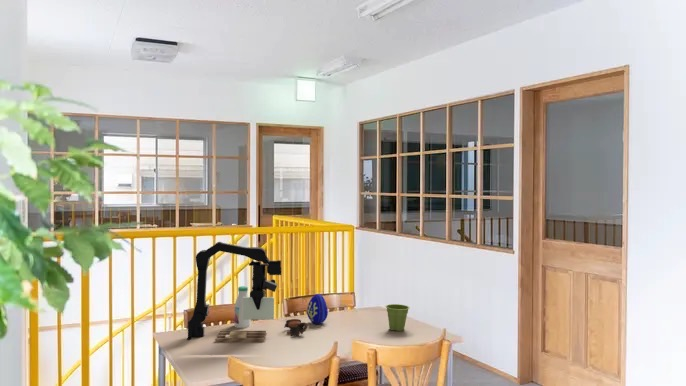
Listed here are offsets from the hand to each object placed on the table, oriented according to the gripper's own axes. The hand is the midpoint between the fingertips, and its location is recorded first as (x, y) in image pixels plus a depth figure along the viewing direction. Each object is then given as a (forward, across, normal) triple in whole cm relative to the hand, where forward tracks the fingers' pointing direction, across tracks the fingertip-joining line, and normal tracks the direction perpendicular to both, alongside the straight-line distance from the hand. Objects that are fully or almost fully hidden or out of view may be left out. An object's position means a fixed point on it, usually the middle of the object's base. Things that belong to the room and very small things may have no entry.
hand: (258, 309), depth 246 cm
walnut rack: (+13, -4, +7) cm, 15 cm away
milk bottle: (+13, +16, +9) cm, 23 cm away
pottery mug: (+13, +5, -17) cm, 22 cm away
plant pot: (+13, +14, -67) cm, 70 cm away
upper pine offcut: (+10, -8, +8) cm, 15 cm away
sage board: (+5, 0, 0) cm, 5 cm away
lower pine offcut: (+12, -8, +9) cm, 17 cm away
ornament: (+13, +26, -28) cm, 40 cm away
